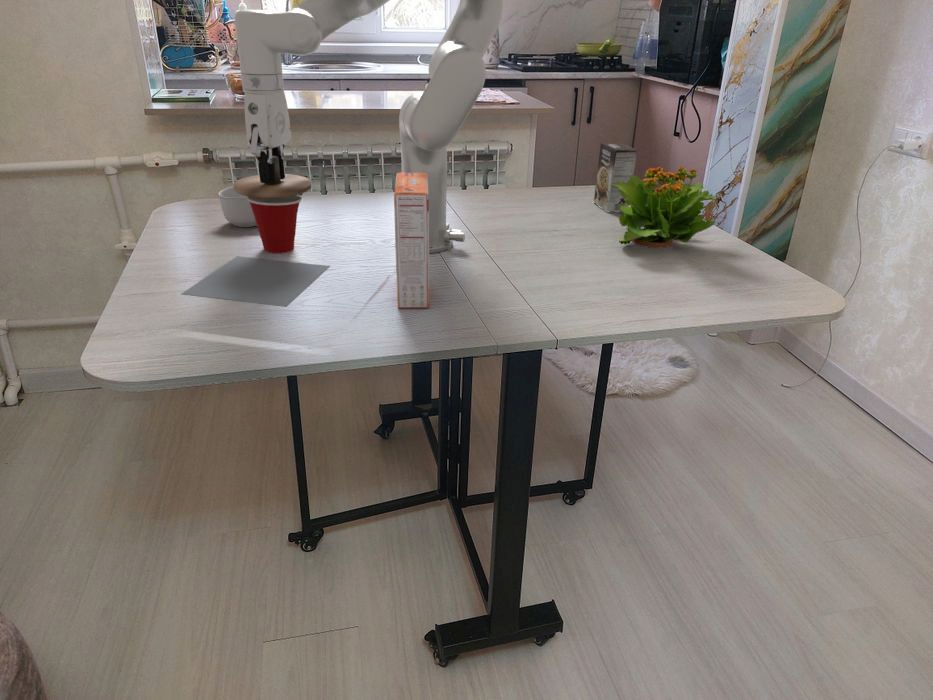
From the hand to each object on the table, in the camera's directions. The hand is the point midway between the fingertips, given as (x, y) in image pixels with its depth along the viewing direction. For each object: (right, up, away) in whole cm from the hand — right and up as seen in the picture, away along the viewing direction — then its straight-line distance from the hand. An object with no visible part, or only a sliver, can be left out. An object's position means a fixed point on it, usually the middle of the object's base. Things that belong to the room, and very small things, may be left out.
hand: (272, 179), depth 135 cm
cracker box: (+29, -24, -10) cm, 39 cm away
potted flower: (+82, -9, +21) cm, 85 cm away
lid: (0, -1, +1) cm, 2 cm away
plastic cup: (-1, -14, +7) cm, 15 cm away
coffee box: (+77, +4, +45) cm, 89 cm away
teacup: (-13, -4, +25) cm, 28 cm away
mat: (0, -22, -8) cm, 23 cm away
